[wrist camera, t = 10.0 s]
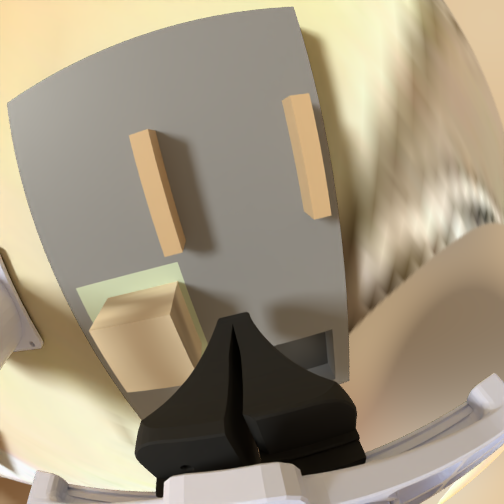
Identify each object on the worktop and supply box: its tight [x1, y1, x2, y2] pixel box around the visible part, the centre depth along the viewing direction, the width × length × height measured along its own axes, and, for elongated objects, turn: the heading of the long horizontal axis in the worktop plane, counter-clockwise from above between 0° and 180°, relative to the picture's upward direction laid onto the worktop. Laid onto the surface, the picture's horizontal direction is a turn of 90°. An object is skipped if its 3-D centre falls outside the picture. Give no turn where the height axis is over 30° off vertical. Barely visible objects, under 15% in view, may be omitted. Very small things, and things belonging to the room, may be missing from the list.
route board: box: [7, 7, 349, 420], centre depth 14 cm, size 15×22×4 cm
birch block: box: [89, 281, 202, 392], centre depth 13 cm, size 4×4×3 cm
